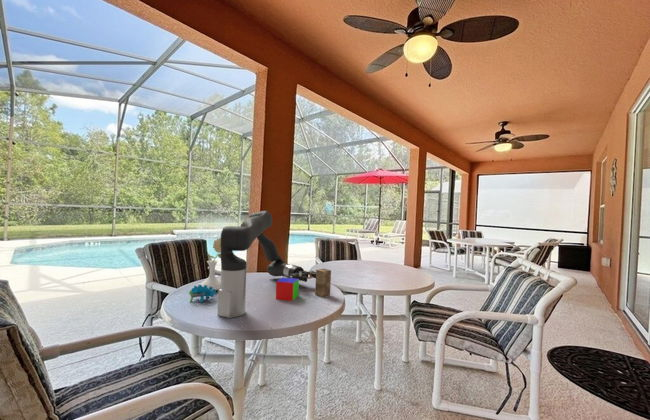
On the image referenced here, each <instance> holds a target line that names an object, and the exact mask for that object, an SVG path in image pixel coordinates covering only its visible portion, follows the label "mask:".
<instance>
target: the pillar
mask: <svg viewBox="0 0 650 420" xmlns="http://www.w3.org/2000/svg"><path fill="white" fill-rule="evenodd" d="M315 272H316V278H315V291H314V294H315V296H317V295H318V296H317V297H320V298H326V296H327V297H330V296H331V284H332V283H331V281H332V270H331V269H327V268H319V269H315Z"/></svg>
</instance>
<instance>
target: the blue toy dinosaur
mask: <svg viewBox="0 0 650 420" xmlns="http://www.w3.org/2000/svg"><path fill="white" fill-rule="evenodd" d="M212 288H213V287H209V289H208V288H207V285H204V287H202V285H200V284H198V285H197V286H196V285H194V286H193V287H192V288H191V290H189V292H188V295H190V300H189V302H191V303H193V299H194V298H200V300H199V303H200V304H201V303H203V301H204V298H206V299H210V298H213V297H214V296H216V294H217V292H216V290H215V289H213V290H212Z"/></svg>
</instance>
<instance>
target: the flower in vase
mask: <svg viewBox="0 0 650 420" xmlns="http://www.w3.org/2000/svg"><path fill="white" fill-rule="evenodd" d="M212 248H213V249H214V251H215V253H217V254H216V256H213V255H210V254H207V256H208V258H212V259H213V260H210V259H209V260H207V261H206V263H207V264H208V266H209V267H208V268H209V275H208V277H207V278H206V279H205V280H203V281H202V282H201V283H200V284H199V285H202V287H204V285H207V288H208V289H209V287H213V288H212V290H213V289H215V290H216V291H217V292H218V291H219V290H220V289H221V279H219V278H217V277H216V274H215V272H216V266H217V263H218V262H219V260H216V259H217V257H218V258H219V259H221V237H219V238H216V239H214V241H213V244H212ZM216 291H215V292H216Z"/></svg>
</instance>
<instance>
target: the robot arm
mask: <svg viewBox="0 0 650 420" xmlns="http://www.w3.org/2000/svg"><path fill="white" fill-rule="evenodd" d="M272 225H273V216H272V214H271V213H270V212H269V210H261V211H257V212H253V213H250V214H249V216H248V218H247V219H245V220H244V221H243V222H242V223H241V224H240V226H230V225H227V226H224V227H223V228H222V230H221V231H220V232H221V233H220V238H221V258H220V265H221V266H220V267H221V269H220V271H221V272H220V281H221V289H220V290H217V292H218V294H217V295H218V296H217V316H220V317H223V318H227V319H232V318H237V317H241V316H243V315H245V313H246V296H247V295H246V291H247V290H246V289H247V268H248V267H247V266H248V265H247V261H246V260H245V259H244V258H241V257H239V256H237V255H236V254H234V252H233V251H236V252H243V251H244V252H245V251H247V250H249V248H250V247H252V246H251V245H252V244H253V242H254V241H255V240H256V239H257V240H258V242H259V244H260V246H261V247H262V250H263V253H264V255H265V258H266V260H267V262H270V263H269V264H268V265H267V267H266V270H267V273H268V274H269V276H272V277H284V278H295V279H299V282H305V283H307V282H308V279H316V271H314V270H304V268H303V267H302V266H299V265H295V264H290V263H286V262H285V260H283V258H282V257H281V256H280V254H279V252H278V251H279V250H278V249H277V246H276V244H275V243H274V242H273V240H271V239H270V238H269V237H268V236H266V235H265V234H264V231H266V229H268V228H271V227H272Z"/></svg>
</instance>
